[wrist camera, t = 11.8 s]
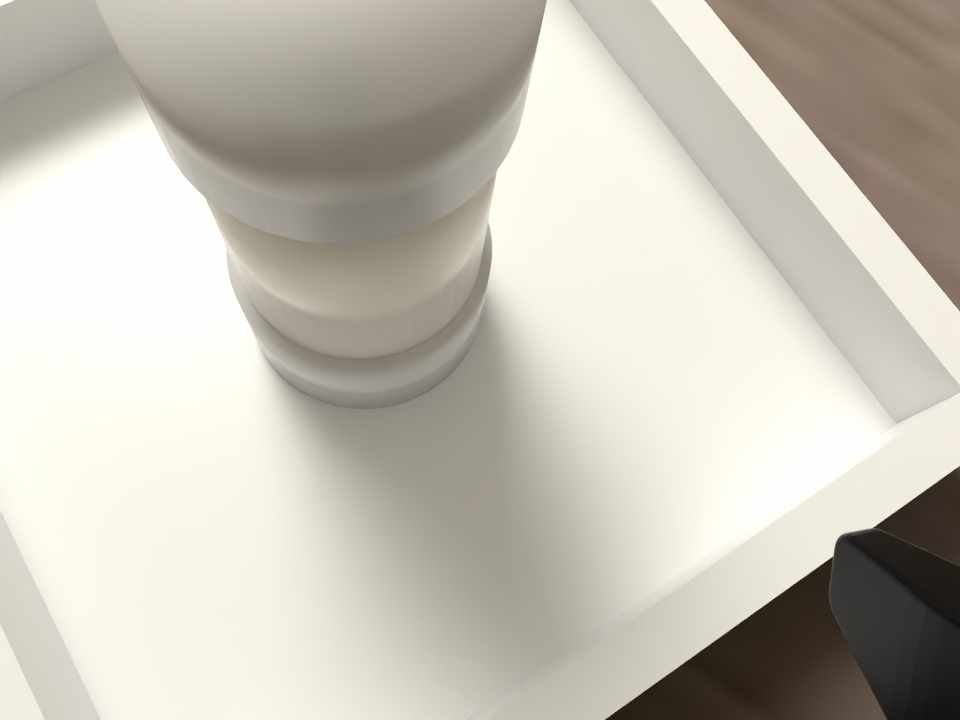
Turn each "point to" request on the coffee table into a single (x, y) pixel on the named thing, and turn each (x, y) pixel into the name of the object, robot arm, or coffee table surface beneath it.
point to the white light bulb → (342, 168)
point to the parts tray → (447, 403)
